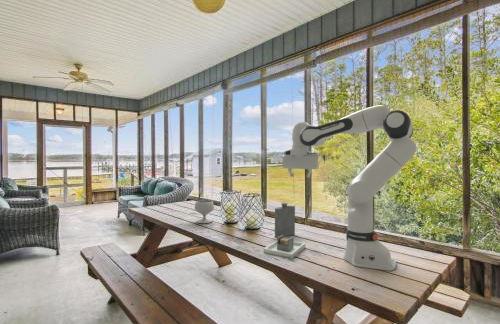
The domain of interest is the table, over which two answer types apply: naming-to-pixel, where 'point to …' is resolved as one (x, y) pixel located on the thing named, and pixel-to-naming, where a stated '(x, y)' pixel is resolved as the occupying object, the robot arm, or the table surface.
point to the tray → (290, 255)
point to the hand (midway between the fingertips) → (299, 177)
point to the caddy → (285, 247)
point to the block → (284, 241)
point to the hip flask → (284, 220)
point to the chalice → (204, 209)
